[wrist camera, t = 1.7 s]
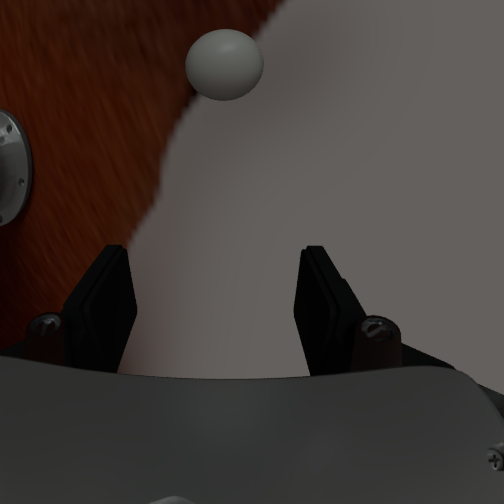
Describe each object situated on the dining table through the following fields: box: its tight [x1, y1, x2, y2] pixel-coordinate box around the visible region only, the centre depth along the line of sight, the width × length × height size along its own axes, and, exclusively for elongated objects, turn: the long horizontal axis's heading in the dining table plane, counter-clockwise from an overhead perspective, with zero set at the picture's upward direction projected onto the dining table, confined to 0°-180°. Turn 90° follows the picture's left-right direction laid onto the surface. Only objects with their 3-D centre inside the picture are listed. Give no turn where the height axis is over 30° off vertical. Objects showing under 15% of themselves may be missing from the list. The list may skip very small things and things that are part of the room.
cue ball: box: [185, 29, 264, 101], centre depth 18 cm, size 6×6×6 cm
